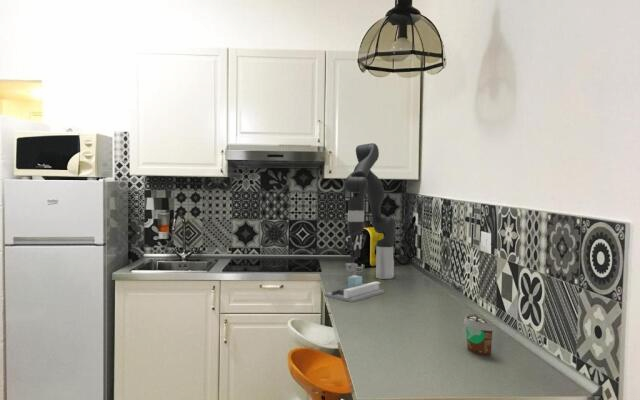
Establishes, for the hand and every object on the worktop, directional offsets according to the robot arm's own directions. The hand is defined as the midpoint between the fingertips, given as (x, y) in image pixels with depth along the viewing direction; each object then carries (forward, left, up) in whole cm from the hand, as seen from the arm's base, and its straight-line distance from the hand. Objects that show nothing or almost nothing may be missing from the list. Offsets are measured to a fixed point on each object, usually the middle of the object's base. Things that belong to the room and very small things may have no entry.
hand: (355, 257), depth 215 cm
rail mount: (0, 0, -17) cm, 17 cm away
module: (0, 0, -16) cm, 16 cm away
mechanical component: (-19, -15, -17) cm, 30 cm away
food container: (+32, +71, -17) cm, 80 cm away
